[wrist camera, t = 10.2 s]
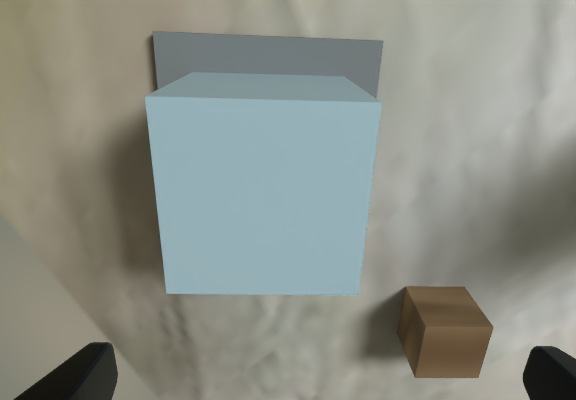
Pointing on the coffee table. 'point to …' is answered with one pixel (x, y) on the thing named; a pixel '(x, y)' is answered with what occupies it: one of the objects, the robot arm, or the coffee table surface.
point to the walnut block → (443, 332)
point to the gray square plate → (266, 56)
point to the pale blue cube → (262, 182)
